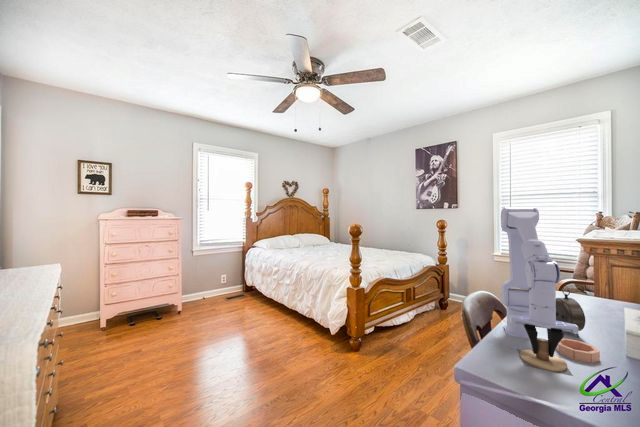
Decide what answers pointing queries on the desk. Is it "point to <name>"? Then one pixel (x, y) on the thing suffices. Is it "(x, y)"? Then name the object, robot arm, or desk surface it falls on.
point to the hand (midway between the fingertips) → (542, 353)
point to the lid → (543, 357)
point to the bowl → (578, 350)
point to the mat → (543, 369)
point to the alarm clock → (570, 311)
